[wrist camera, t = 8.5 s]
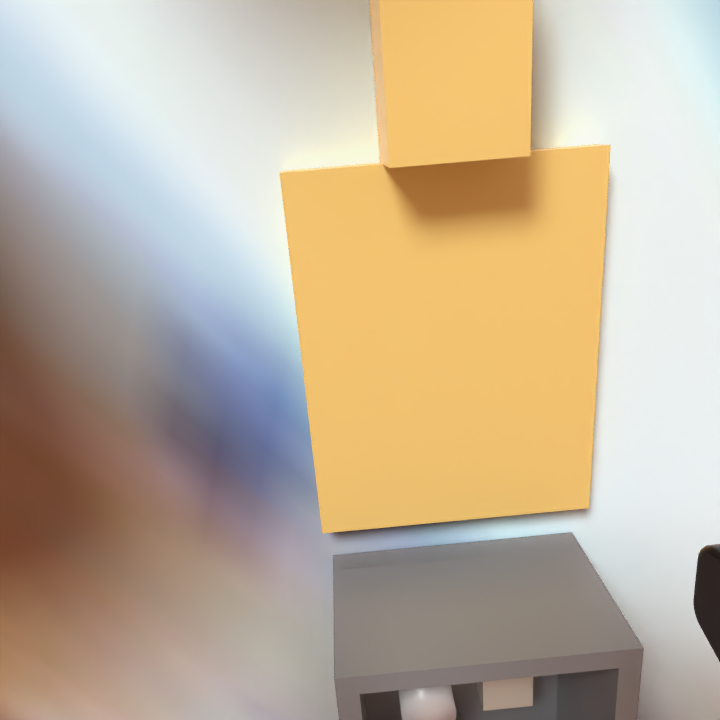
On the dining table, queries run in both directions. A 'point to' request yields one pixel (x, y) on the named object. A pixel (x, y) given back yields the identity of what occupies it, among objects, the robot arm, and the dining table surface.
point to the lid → (450, 285)
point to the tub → (481, 634)
